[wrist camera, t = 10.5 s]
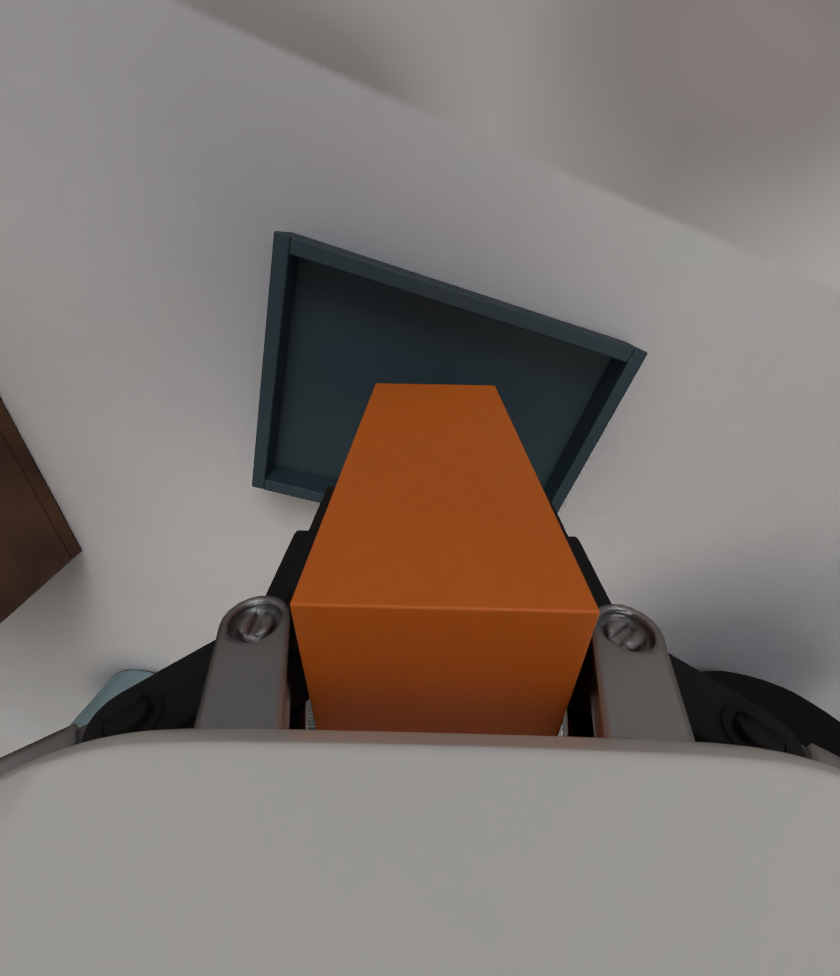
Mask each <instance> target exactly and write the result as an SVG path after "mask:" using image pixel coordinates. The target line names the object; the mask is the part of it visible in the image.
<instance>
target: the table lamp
mask: <svg viewBox="0 0 840 976" xmlns="http://www.w3.org/2000/svg"><path fill="white" fill-rule="evenodd" d="M701 673H703V674H705V675H707V676H708V677H710V678H712V679H713V680H715V681H717V682H718V683H720V684H722V685H724V686H725V687H727V688H729V689H730V690H732V691H734V692H735V693H737V694H739V695H741V696H742V697H744V698H746V699H747V700H749V701H751V702H752V703H754V704H756V705H758V706H759V707H761V708H763V709H764V710H766V711H767V712H769V713H770V714H772V715H773V716H775V717H776V718H778V719H779V720H780V721H781V722H782V723H783V724H784V725H785V726H786V727H787V728H788V729H790V730H791V731H792V733H793V734H794V735H795V737H796V738H797V739H798V741H799V742H800V743H801V745H803V746H804V747H806V748H807V747H808V746H809V745H810V744H811V743H813V744H815V745H817V746H819V747H821V748H823V749H825V750H827V751H829V752H831V753H833V754H835V755H837V756H839V757H840V722H839V721H838V720H836V719H835V718H833V717H832V716H831V715H829V714H828V713H826V712H825V711H823V710H821V709H820V708H818V707H817V706H815V705H814V704H812V703H810V702H809V701H807V700H806V699H804V698H802V697H800V696H799V695H797V694H795V693H793V692H792V691H789V690H787V689H785V688H783V687H781V686H778V685H775V684H773V683H770V682H767V681H764V680H761V679H757V678H754V677H750V676H747V675H742V674H737V673H731V672H724V671H706V672H701Z"/></svg>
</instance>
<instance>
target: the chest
mask: <svg viewBox="0 0 840 976" xmlns="http://www.w3.org/2000/svg"><path fill="white" fill-rule="evenodd" d="M80 552H81V549H80V547H79V545H78V543H77V541H76V539H75V538H74V536H73V534H72V532H71V530H70V528H69V526H68V524H67V523H66V521H65V519H64V517H63V515H62V513H61V511H60V510H59V508H58V506H57V504H56V502H55V500H54V498H53V496H52V495H51V493H50V491H49V489H48V487H47V485H46V483H45V482H44V480H43V478H42V476H41V474H40V472H39V470H38V468H37V467H36V465H35V463H34V461H33V459H32V457H31V455H30V454H29V452H28V450H27V448H26V446H25V444H24V442H23V440H22V439H21V437H20V435H19V433H18V431H17V429H16V427H15V426H14V424H13V422H12V420H11V418H10V416H9V414H8V412H7V411H6V409H5V407H4V405H3V403H2V401H1V399H0V623H1V622H2V621H4V620H5V619H6V618H7V617H8V616H9V615H10V614H11V613H13V612H14V611H15V610H16V609H17V608H18V607H19V606H20V605H22V604H23V603H24V602H25V601H26V600H27V599H28V598H29V597H31V596H32V595H33V594H34V593H35V592H36V591H37V590H38V589H40V588H41V587H42V586H43V585H44V584H45V583H46V582H47V581H49V580H50V579H51V578H52V577H53V576H54V575H55V574H56V573H58V572H59V571H60V570H61V569H62V568H63V567H64V566H65V565H67V564H68V563H69V562H70V561H71V560H72V559H73V558H74V557H76V556H77V555H78V554H79V553H80Z"/></svg>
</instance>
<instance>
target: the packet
mask: <svg viewBox="0 0 840 976" xmlns="http://www.w3.org/2000/svg"><path fill="white" fill-rule="evenodd" d="M290 608H291V613H292V618H293V622H294V627H295V632H296V637H297V641H298V646H299V651H300V655H301V660H302V665H303V669H304V674H305V679H306V684H307V688H308V693H309V698H310V702H311V707H312V712H313V716H314V721H315V726H316V730H342V731H387V732H425V733H463V734H499V735H533V736H558V734H559V731H560V728H561V725H562V722H563V719H564V716H565V713H566V710H567V707H568V704H569V701H570V699H571V696H572V693H573V690H574V687H575V684H576V681H577V678H578V675H579V672H580V669H581V666H582V663H583V661H584V658H585V655H586V652H587V649H588V646H589V643H590V640H591V637H592V634H593V631H594V628H595V626H596V623H597V620H598V617H599V613H600V612H599V609H598V607H597V604H596V602H595V600H594V598H593V596H592V594H591V591H590V589H589V587H588V585H587V583H586V581H585V579H584V576H583V574H582V572H581V570H580V568H579V566H578V564H577V561H576V559H575V557H574V555H573V553H572V551H571V548H570V546H569V544H568V542H567V540H566V538H565V536H564V533H563V531H562V529H561V527H560V525H559V523H558V521H557V518H556V516H555V514H554V512H553V510H552V508H551V505H550V503H549V501H548V499H547V497H546V495H545V493H544V490H543V488H542V486H541V484H540V482H539V480H538V477H537V475H536V473H535V471H534V469H533V467H532V465H531V462H530V460H529V458H528V456H527V454H526V452H525V450H524V447H523V445H522V443H521V441H520V439H519V437H518V434H517V432H516V430H515V428H514V426H513V424H512V422H511V419H510V417H509V415H508V413H507V411H506V409H505V407H504V404H503V402H502V400H501V398H500V396H499V394H498V391H497V389H496V387H495V386H494V385H445V384H392V383H376V384H375V387H374V389H373V392H372V394H371V397H370V400H369V402H368V405H367V407H366V410H365V412H364V415H363V417H362V420H361V423H360V425H359V428H358V430H357V433H356V435H355V438H354V441H353V443H352V446H351V448H350V451H349V453H348V456H347V459H346V461H345V464H344V466H343V469H342V471H341V474H340V477H339V479H338V482H337V484H336V487H335V489H334V492H333V494H332V497H331V500H330V502H329V505H328V507H327V510H326V512H325V515H324V518H323V520H322V523H321V525H320V528H319V530H318V533H317V536H316V538H315V541H314V543H313V546H312V548H311V551H310V554H309V556H308V559H307V561H306V564H305V566H304V569H303V571H302V574H301V577H300V579H299V582H298V584H297V587H296V589H295V592H294V595H293V597H292V600H291V602H290Z"/></svg>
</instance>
